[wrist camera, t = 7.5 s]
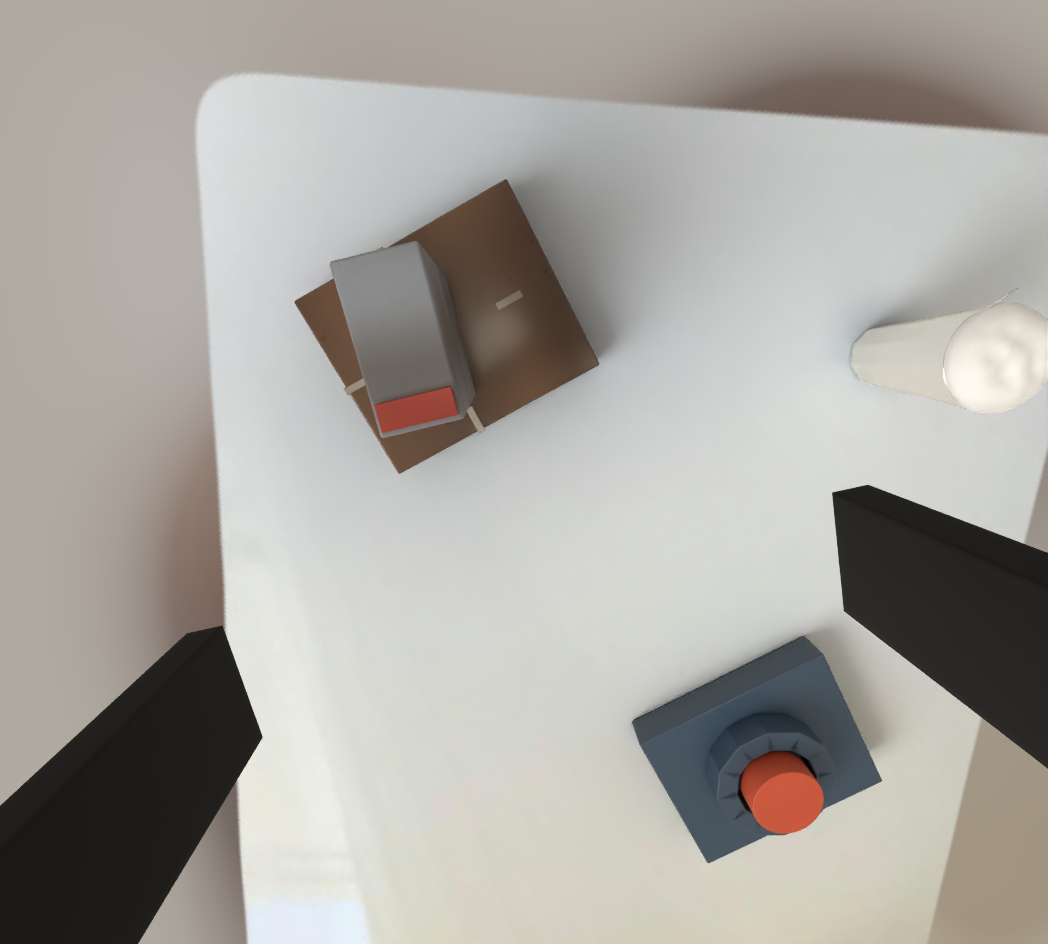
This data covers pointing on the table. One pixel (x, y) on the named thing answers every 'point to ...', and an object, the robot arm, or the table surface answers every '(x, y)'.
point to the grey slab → (405, 337)
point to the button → (781, 792)
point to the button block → (753, 742)
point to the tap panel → (475, 321)
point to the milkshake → (960, 357)
